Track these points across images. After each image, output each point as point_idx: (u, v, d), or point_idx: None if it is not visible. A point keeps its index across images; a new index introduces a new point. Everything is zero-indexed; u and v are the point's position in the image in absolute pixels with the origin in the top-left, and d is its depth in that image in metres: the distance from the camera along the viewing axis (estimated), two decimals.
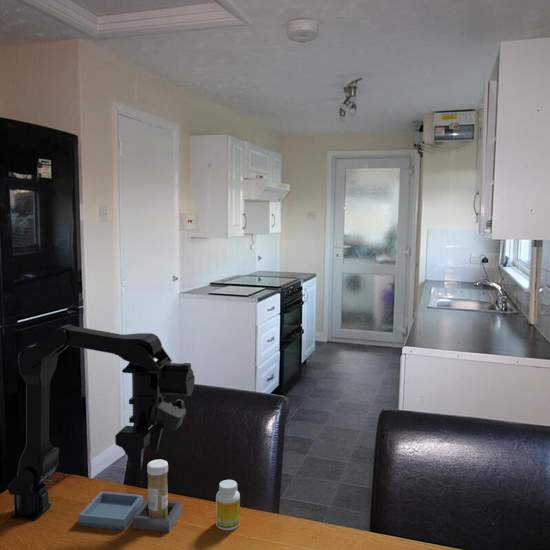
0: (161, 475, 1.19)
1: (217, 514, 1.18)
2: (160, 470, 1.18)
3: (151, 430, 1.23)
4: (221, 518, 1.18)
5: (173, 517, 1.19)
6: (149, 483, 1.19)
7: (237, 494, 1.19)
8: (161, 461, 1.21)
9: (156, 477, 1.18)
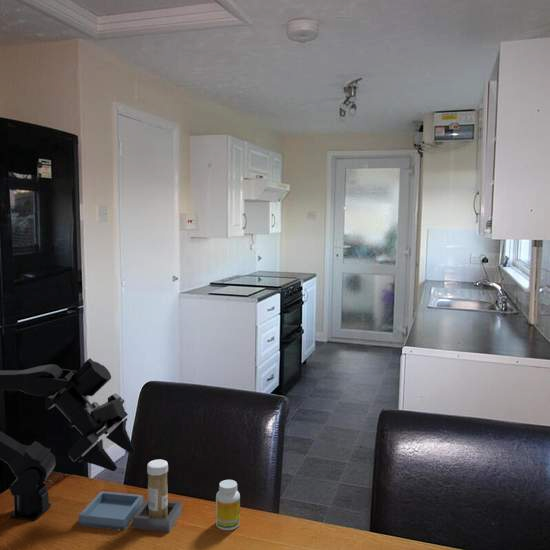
0: (161, 475, 1.19)
1: (217, 514, 1.18)
2: (160, 470, 1.18)
3: (117, 437, 1.26)
4: (221, 518, 1.18)
5: (173, 517, 1.19)
6: (149, 483, 1.19)
7: (237, 494, 1.19)
8: (161, 461, 1.21)
9: (156, 477, 1.18)
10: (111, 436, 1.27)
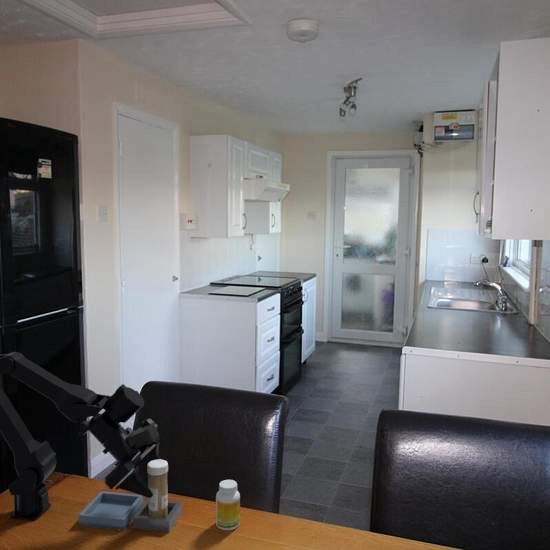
0: (161, 475, 1.19)
1: (217, 514, 1.18)
2: (160, 470, 1.18)
3: None
4: (221, 518, 1.18)
5: (173, 517, 1.19)
6: (149, 483, 1.19)
7: (237, 494, 1.19)
8: (161, 461, 1.21)
9: (156, 477, 1.18)
10: (144, 461, 1.26)
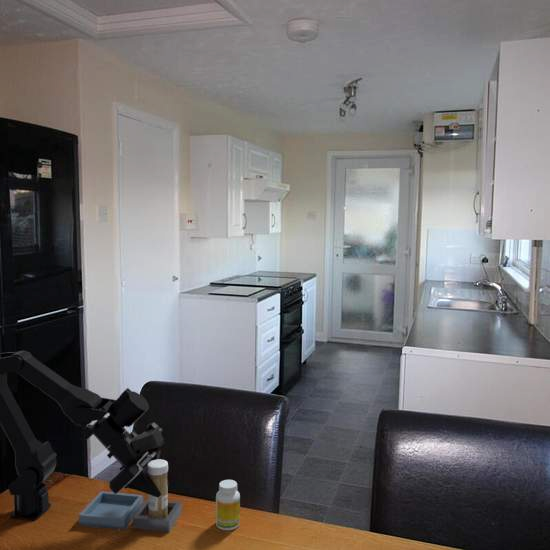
0: (161, 475, 1.19)
1: (217, 514, 1.18)
2: (160, 470, 1.18)
3: None
4: (221, 518, 1.18)
5: (173, 517, 1.19)
6: None
7: (237, 494, 1.19)
8: (161, 461, 1.21)
9: (156, 477, 1.18)
10: None
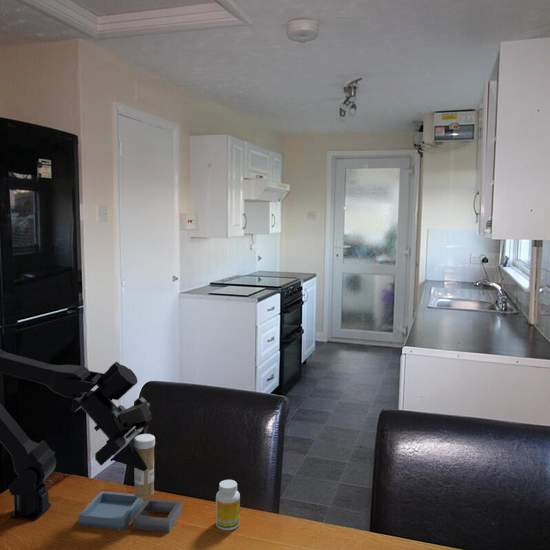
0: (148, 449, 1.18)
1: (217, 514, 1.18)
2: (147, 444, 1.18)
3: None
4: (221, 518, 1.18)
5: (173, 517, 1.19)
6: None
7: (237, 494, 1.19)
8: (148, 435, 1.21)
9: (143, 450, 1.18)
10: None
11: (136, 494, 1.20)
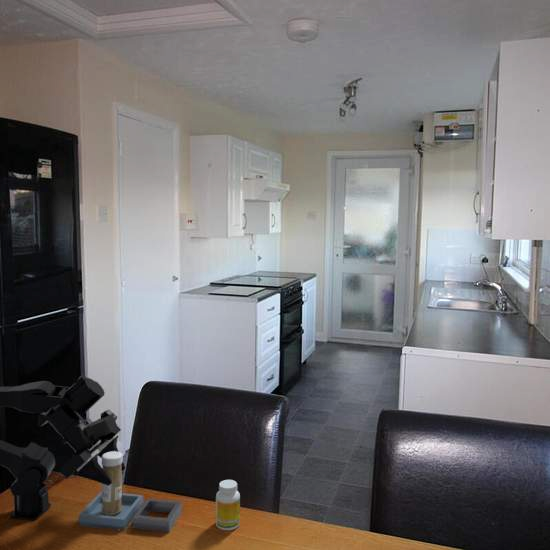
0: (115, 466, 1.20)
1: (217, 514, 1.18)
2: (114, 462, 1.20)
3: None
4: (221, 518, 1.18)
5: (173, 517, 1.19)
6: None
7: (237, 494, 1.19)
8: (116, 453, 1.23)
9: (110, 468, 1.20)
10: (102, 454, 1.26)
11: (103, 511, 1.21)
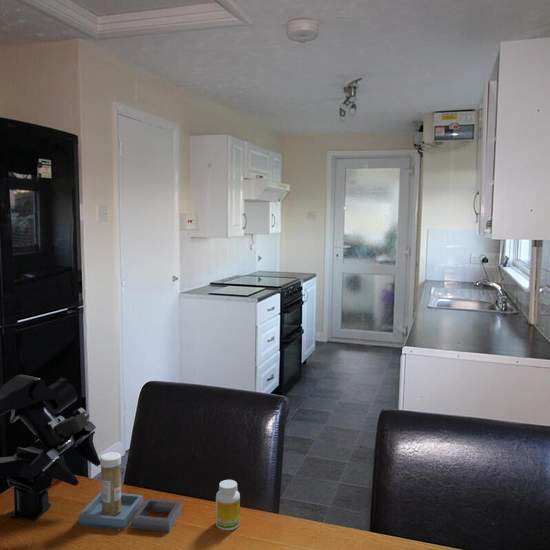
0: (113, 467, 1.20)
1: (217, 514, 1.18)
2: (113, 463, 1.20)
3: (83, 450, 1.28)
4: (221, 518, 1.18)
5: (173, 517, 1.19)
6: (102, 475, 1.21)
7: (237, 494, 1.19)
8: (114, 454, 1.23)
9: (109, 469, 1.20)
10: (78, 449, 1.28)
11: (103, 512, 1.21)
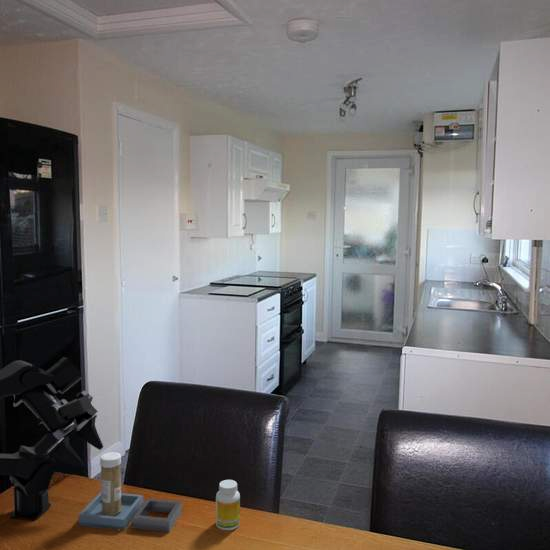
0: (113, 467, 1.20)
1: (217, 514, 1.18)
2: (113, 463, 1.20)
3: (86, 434, 1.27)
4: (221, 518, 1.18)
5: (173, 517, 1.19)
6: (102, 475, 1.21)
7: (237, 494, 1.19)
8: (114, 454, 1.23)
9: (109, 469, 1.20)
10: (80, 433, 1.28)
11: (103, 512, 1.21)
